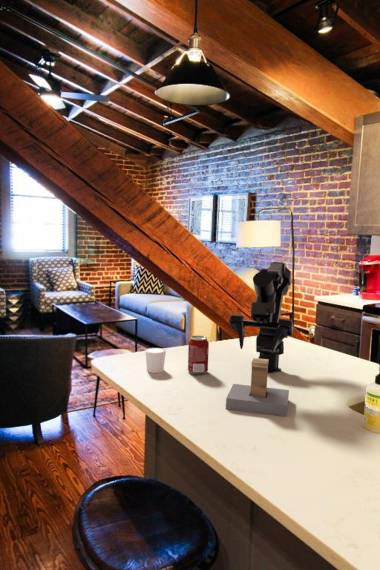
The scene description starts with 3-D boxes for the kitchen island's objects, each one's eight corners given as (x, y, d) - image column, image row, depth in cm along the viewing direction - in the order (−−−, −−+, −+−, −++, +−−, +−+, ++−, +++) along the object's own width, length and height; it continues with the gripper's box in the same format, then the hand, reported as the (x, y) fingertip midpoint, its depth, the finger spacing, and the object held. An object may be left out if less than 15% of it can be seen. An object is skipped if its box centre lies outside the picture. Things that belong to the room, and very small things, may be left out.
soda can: (205, 376, 149) (207, 340, 148) (185, 374, 151) (186, 339, 149) (209, 370, 156) (210, 335, 154) (189, 368, 157) (190, 334, 156)
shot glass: (168, 368, 156) (168, 348, 155) (160, 374, 150) (161, 353, 149) (150, 366, 158) (150, 346, 157) (141, 371, 152) (142, 351, 151)
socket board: (233, 393, 134) (233, 383, 134) (288, 400, 130) (288, 390, 130) (225, 408, 123) (226, 398, 122) (286, 416, 119) (286, 405, 118)
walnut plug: (251, 400, 129) (253, 357, 128) (266, 402, 128) (268, 359, 126) (249, 406, 125) (251, 362, 123) (264, 408, 124) (267, 363, 122)
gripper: (231, 288, 138) (220, 334, 130) (293, 293, 132) (287, 341, 124) (236, 307, 147) (227, 351, 139) (295, 312, 141) (289, 358, 133)
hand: (256, 350), depth 133 cm, fingers open, 9 cm apart
